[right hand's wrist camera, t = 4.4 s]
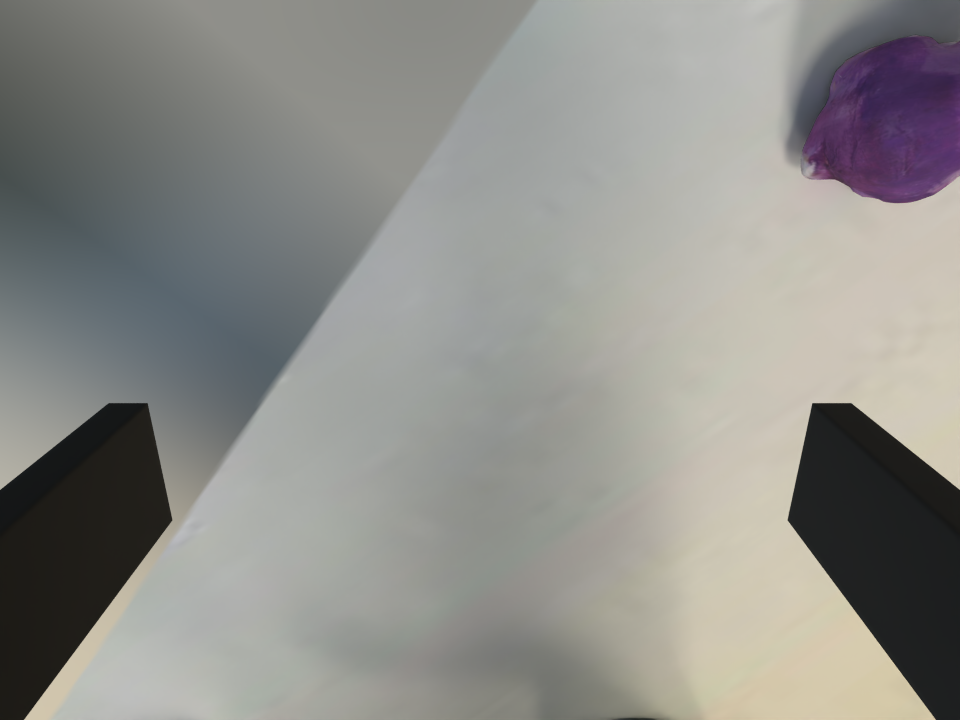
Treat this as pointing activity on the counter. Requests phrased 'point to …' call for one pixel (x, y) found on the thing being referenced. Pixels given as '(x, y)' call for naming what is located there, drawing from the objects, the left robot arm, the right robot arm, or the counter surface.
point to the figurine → (891, 122)
